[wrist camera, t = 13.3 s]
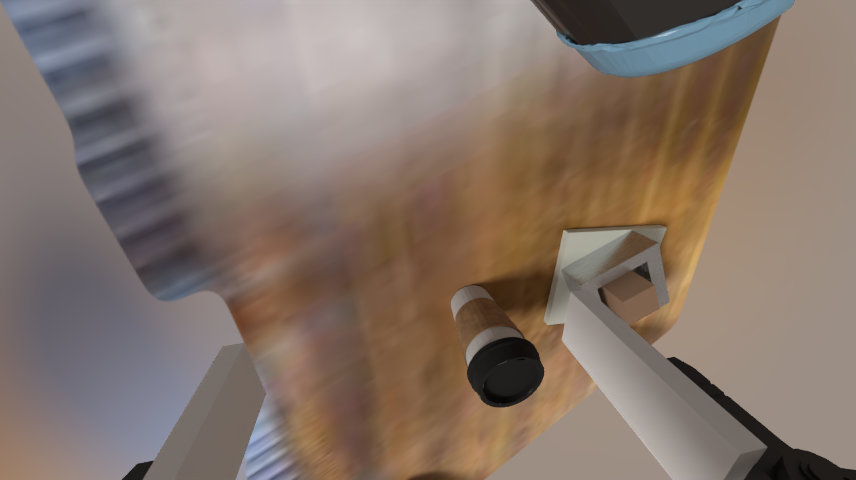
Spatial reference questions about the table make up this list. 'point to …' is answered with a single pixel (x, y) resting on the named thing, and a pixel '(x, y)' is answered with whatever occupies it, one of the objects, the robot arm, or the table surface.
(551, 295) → the post board
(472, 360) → the coffee cup
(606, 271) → the square frame
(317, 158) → the table surface
